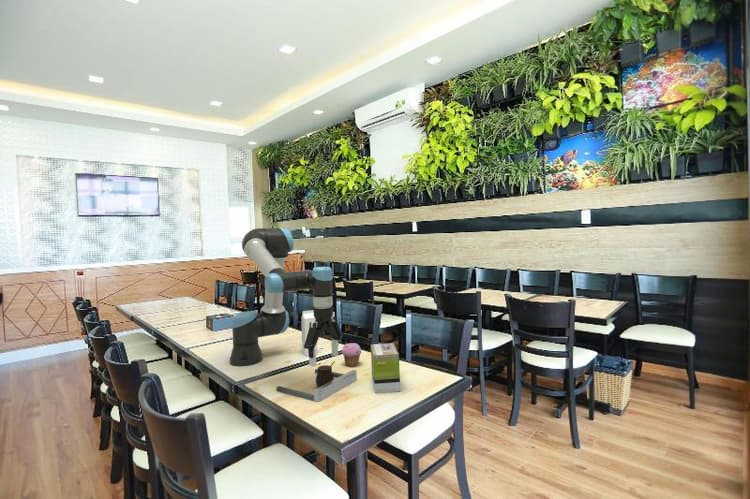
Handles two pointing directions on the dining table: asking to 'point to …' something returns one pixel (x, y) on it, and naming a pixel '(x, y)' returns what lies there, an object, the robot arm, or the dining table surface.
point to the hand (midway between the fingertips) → (324, 360)
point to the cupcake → (351, 353)
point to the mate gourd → (324, 375)
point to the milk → (306, 328)
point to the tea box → (385, 368)
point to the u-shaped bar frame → (324, 386)
